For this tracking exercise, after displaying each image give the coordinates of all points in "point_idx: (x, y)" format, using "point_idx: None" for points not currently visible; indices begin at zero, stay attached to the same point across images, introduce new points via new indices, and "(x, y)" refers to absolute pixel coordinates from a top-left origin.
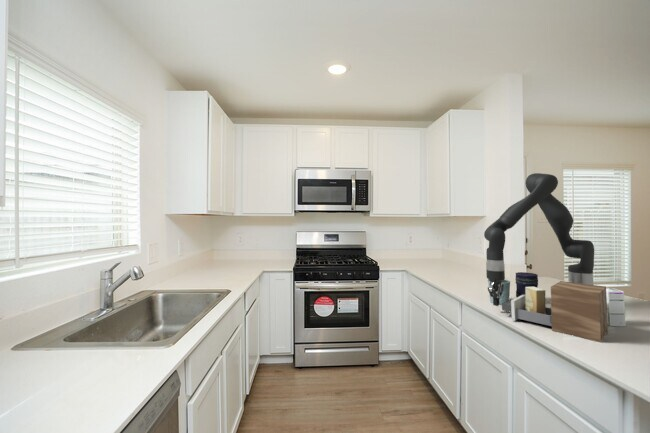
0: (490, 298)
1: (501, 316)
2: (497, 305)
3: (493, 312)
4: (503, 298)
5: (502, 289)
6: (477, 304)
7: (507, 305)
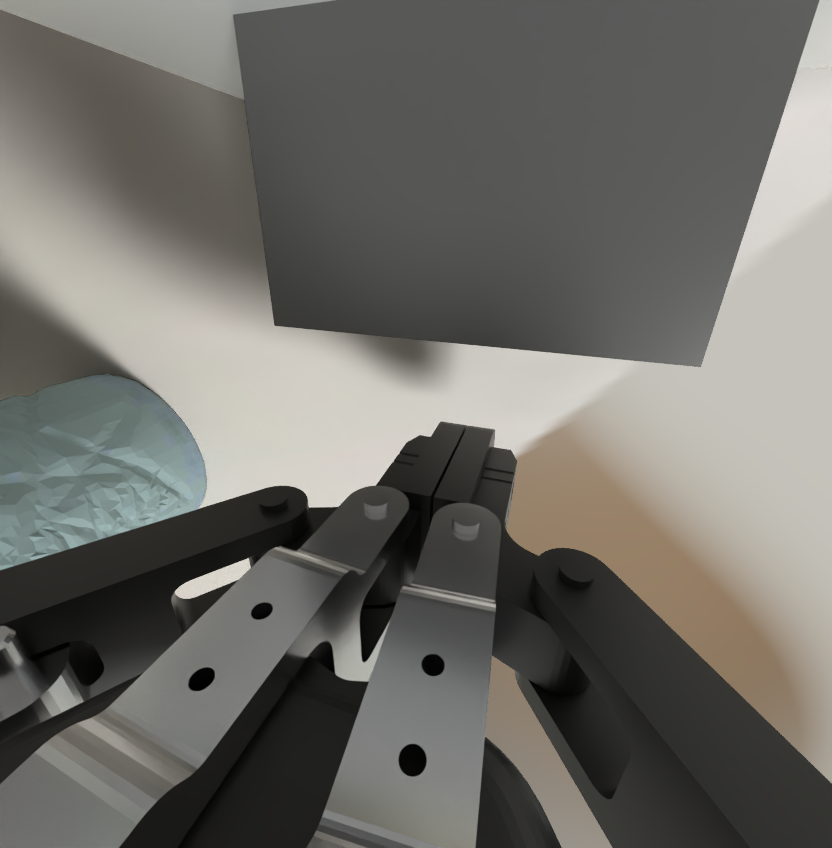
0: None
1: None
2: (492, 439)
3: (509, 437)
4: (100, 439)
5: (92, 555)
6: None
7: (744, 205)
